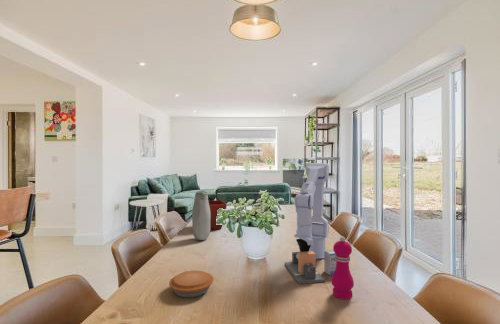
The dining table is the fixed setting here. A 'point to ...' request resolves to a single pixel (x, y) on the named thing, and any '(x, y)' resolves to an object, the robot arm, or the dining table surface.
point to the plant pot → (215, 212)
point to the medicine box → (329, 262)
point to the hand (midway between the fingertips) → (304, 257)
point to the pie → (191, 283)
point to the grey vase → (201, 216)
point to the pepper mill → (342, 270)
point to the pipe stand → (309, 271)
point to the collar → (306, 260)
